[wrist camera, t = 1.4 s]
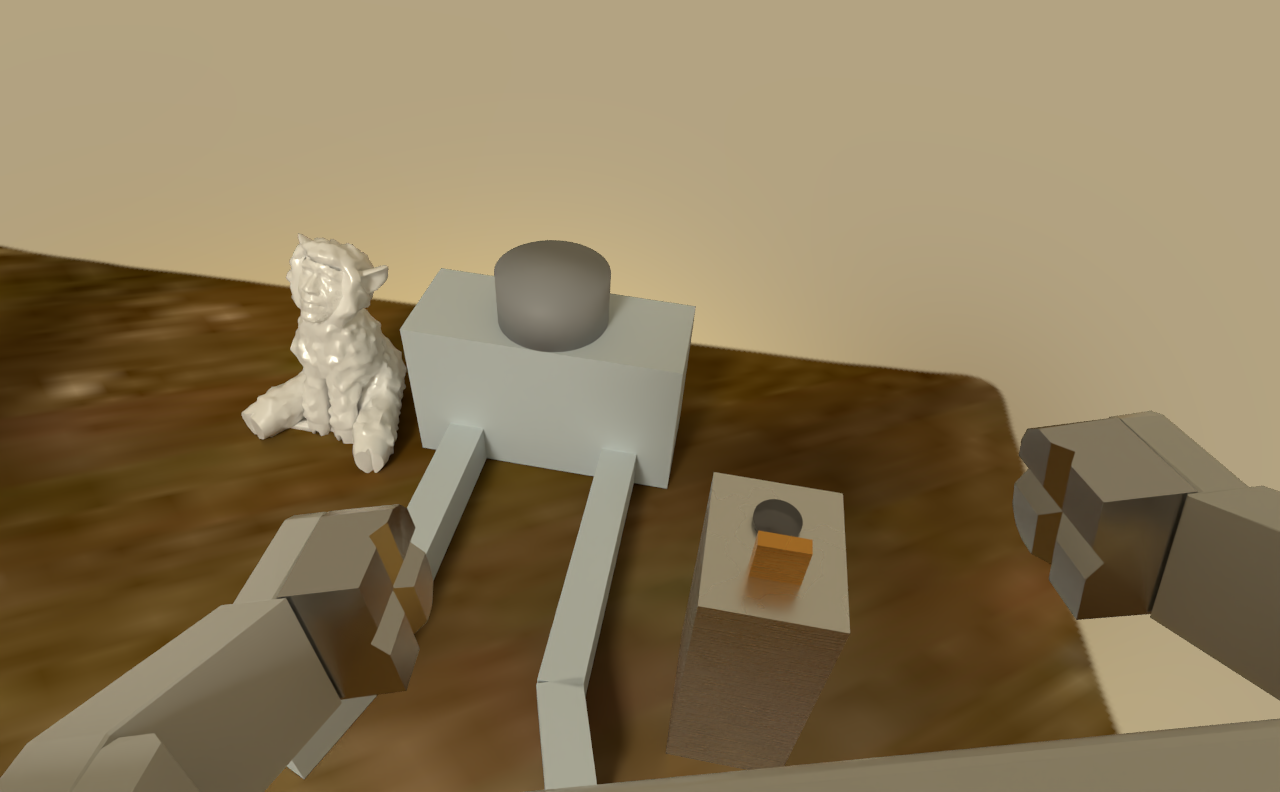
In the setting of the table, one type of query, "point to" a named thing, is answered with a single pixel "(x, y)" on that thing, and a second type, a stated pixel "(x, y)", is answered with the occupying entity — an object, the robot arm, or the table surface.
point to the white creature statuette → (337, 357)
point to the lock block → (759, 622)
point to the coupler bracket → (541, 439)
